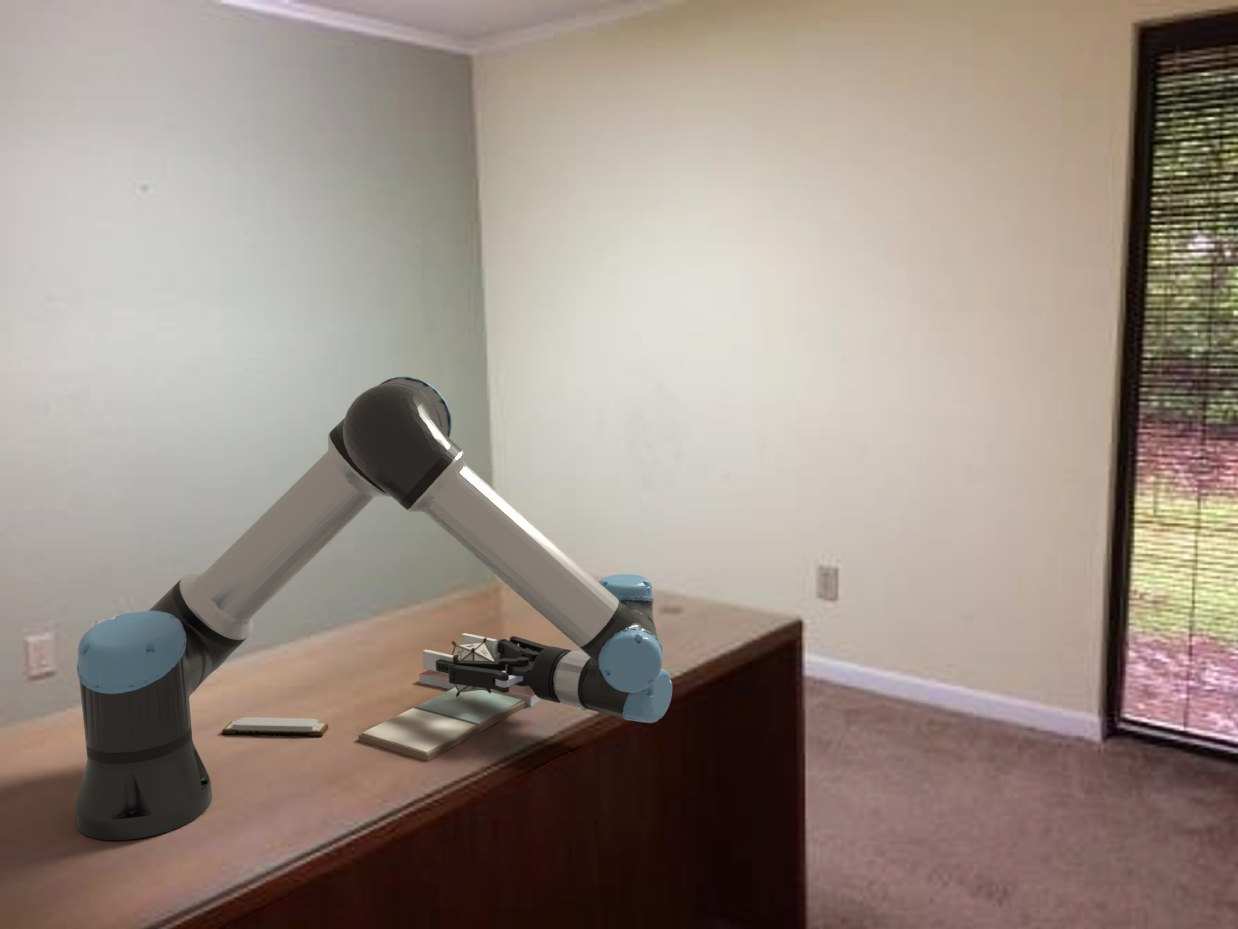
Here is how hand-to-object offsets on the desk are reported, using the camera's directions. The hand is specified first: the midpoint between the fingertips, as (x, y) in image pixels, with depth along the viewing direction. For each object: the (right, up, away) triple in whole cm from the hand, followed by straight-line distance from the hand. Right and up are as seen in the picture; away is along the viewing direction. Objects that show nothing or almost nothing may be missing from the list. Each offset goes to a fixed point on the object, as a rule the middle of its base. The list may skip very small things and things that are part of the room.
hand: (444, 650), depth 158 cm
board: (+1, -10, -6) cm, 11 cm away
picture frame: (+8, -8, +13) cm, 17 cm away
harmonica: (-23, -11, -8) cm, 27 cm away
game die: (+4, -6, -1) cm, 8 cm away
